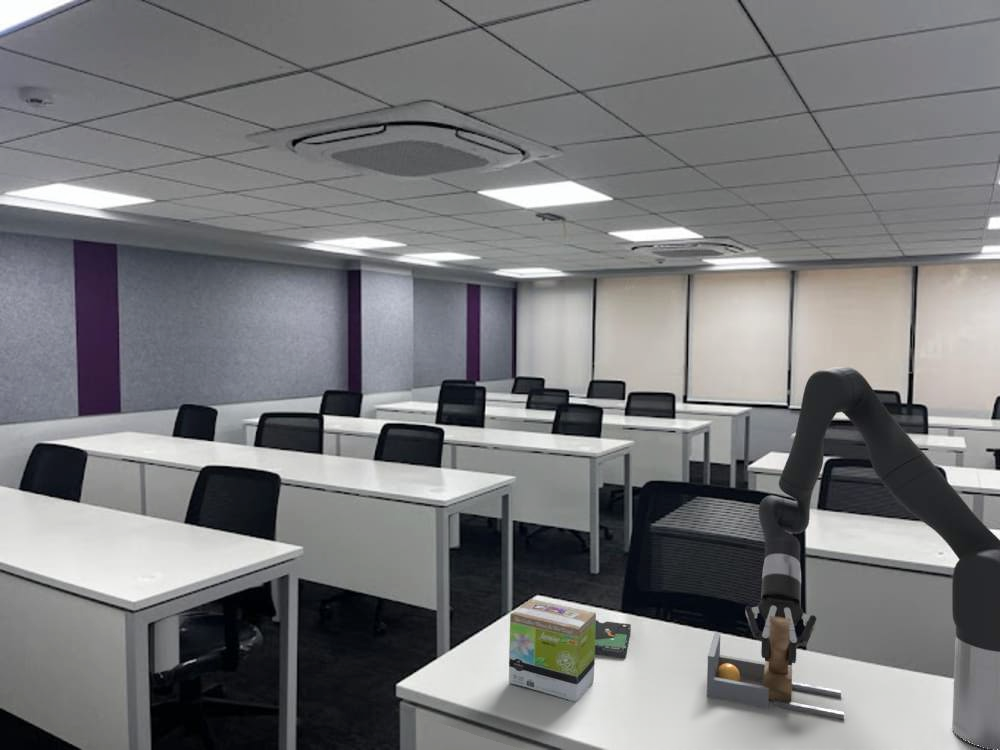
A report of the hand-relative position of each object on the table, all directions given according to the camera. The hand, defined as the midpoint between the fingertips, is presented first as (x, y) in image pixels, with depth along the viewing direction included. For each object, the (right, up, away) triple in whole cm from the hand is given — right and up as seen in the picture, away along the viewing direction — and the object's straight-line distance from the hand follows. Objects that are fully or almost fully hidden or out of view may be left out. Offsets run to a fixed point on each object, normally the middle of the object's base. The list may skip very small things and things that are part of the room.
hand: (778, 661), depth 136 cm
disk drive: (-30, -7, +26) cm, 40 cm away
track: (+6, -8, 0) cm, 9 cm away
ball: (-8, -5, +6) cm, 11 cm away
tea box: (-44, -7, +6) cm, 44 cm away
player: (+1, -7, +2) cm, 8 cm away
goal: (-5, -7, +5) cm, 10 cm away
